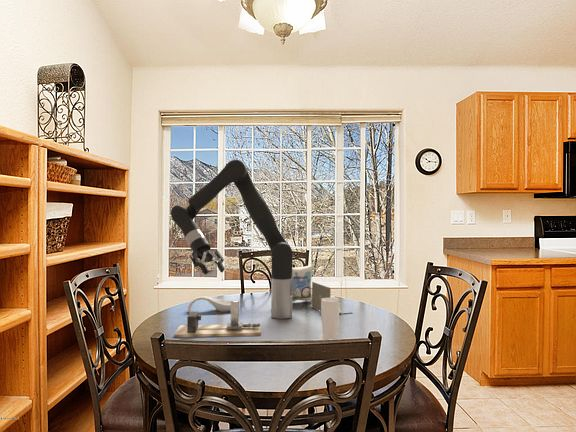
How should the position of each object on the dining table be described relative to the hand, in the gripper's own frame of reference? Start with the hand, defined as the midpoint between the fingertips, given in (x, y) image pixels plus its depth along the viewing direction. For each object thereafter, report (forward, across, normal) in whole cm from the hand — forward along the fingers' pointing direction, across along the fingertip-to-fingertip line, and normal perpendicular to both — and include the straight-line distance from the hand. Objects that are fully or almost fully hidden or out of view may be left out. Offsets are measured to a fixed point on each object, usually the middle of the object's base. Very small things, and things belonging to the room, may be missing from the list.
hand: (215, 272), depth 160 cm
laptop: (+32, +54, 0) cm, 62 cm away
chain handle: (+25, +3, +4) cm, 25 cm away
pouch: (+16, +55, +15) cm, 59 cm away
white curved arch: (+2, +17, +30) cm, 34 cm away
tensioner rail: (+21, -4, +10) cm, 24 cm away
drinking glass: (+48, +14, -18) cm, 54 cm away
